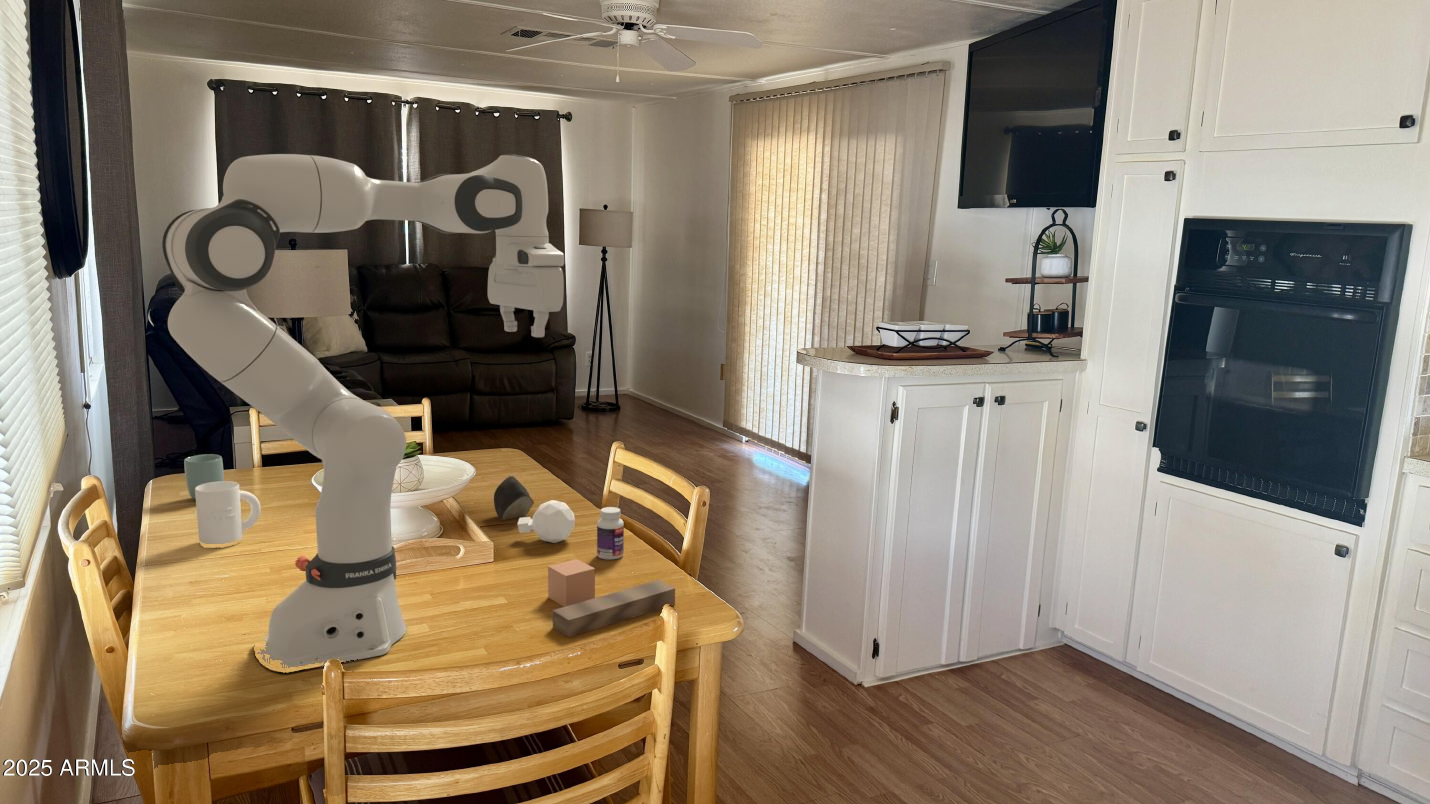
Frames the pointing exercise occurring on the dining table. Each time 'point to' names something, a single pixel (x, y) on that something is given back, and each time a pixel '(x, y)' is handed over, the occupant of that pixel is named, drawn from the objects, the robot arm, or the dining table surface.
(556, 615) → the board
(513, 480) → the stone
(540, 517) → the perfume bottle
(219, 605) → the dining table surface
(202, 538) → the mug
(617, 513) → the pill bottle
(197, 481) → the cup
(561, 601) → the block
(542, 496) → the dining table surface
